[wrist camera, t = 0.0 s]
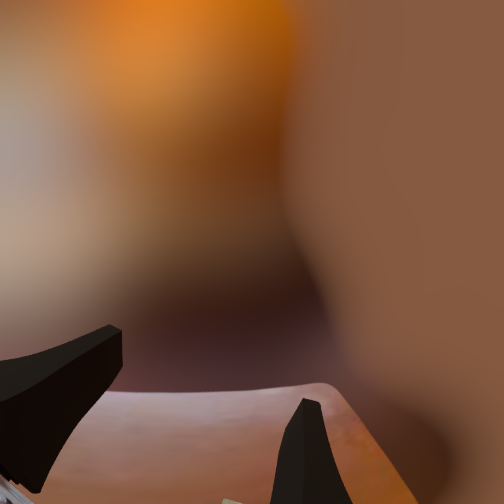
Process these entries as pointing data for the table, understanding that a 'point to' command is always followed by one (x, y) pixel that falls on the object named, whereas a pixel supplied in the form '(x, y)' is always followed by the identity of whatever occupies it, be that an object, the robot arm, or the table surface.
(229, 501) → the lid
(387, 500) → the table surface
